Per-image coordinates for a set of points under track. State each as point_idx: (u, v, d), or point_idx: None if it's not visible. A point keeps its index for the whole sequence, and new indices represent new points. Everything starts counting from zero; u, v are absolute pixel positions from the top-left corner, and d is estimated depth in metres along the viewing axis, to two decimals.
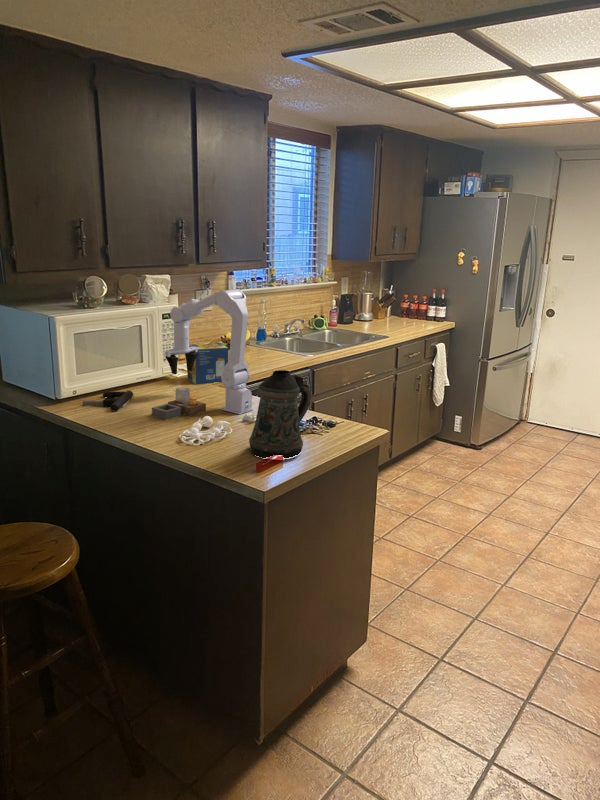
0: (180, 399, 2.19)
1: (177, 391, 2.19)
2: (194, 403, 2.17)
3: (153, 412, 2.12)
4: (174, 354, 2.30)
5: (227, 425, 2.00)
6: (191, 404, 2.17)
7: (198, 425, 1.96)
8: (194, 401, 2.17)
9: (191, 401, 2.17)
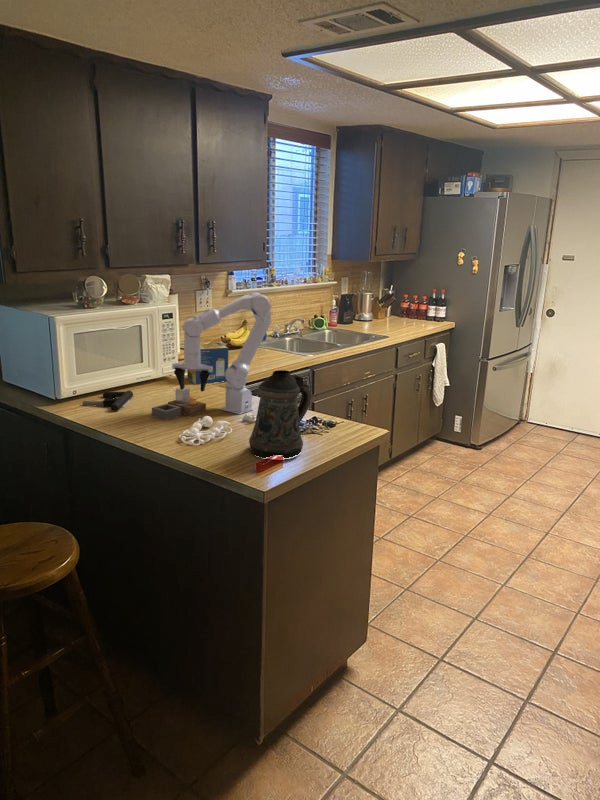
0: (180, 399, 2.19)
1: (177, 391, 2.19)
2: (194, 403, 2.17)
3: (153, 412, 2.12)
4: (182, 368, 2.15)
5: (227, 425, 2.00)
6: (191, 404, 2.17)
7: (198, 425, 1.96)
8: (194, 401, 2.17)
9: (191, 401, 2.17)
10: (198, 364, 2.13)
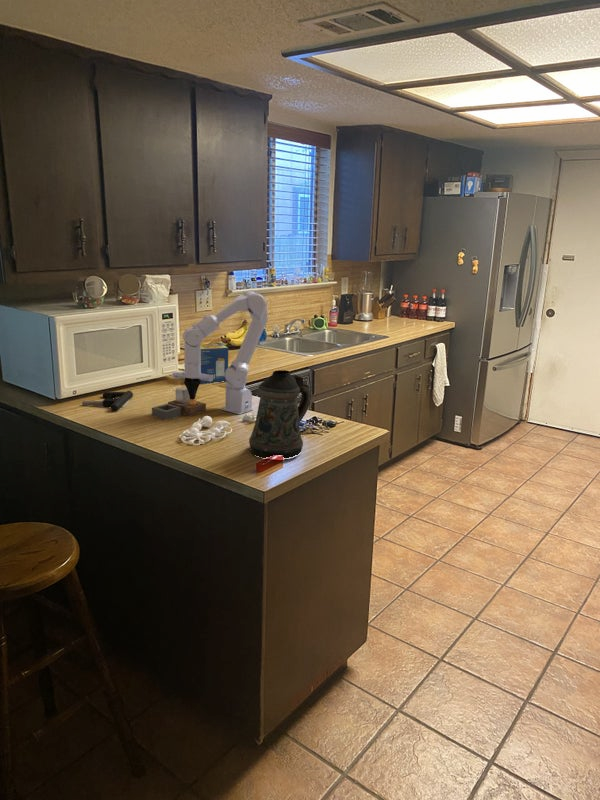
0: (180, 399, 2.19)
1: (177, 391, 2.19)
2: (194, 404, 2.17)
3: (153, 412, 2.12)
4: (182, 377, 2.16)
5: (227, 425, 2.00)
6: (191, 405, 2.17)
7: (198, 425, 1.96)
8: (194, 402, 2.17)
9: (191, 402, 2.17)
10: (198, 373, 2.14)
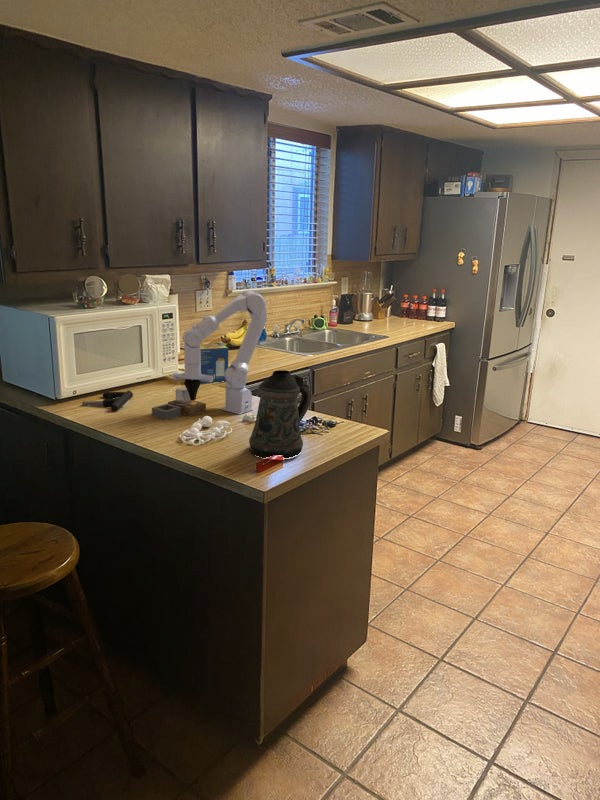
0: (180, 399, 2.19)
1: (177, 391, 2.19)
2: None
3: (153, 412, 2.12)
4: (182, 378, 2.16)
5: (227, 425, 2.00)
6: None
7: (198, 425, 1.96)
8: None
9: None
10: (198, 374, 2.14)
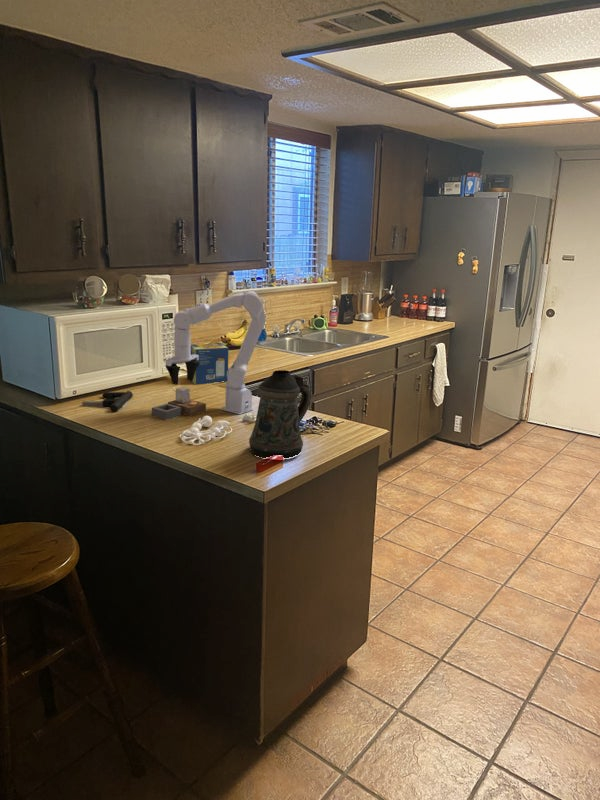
0: (180, 399, 2.19)
1: (177, 391, 2.19)
2: None
3: (153, 412, 2.12)
4: (175, 363, 2.13)
5: (227, 425, 2.01)
6: None
7: (198, 425, 1.96)
8: None
9: None
10: None
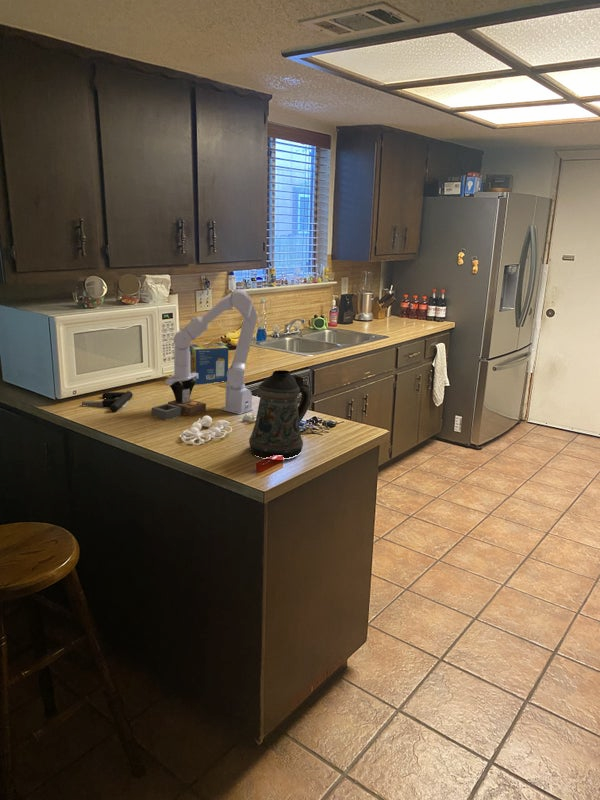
0: None
1: None
2: None
3: (153, 412, 2.12)
4: (175, 382, 2.16)
5: (227, 424, 2.01)
6: None
7: (198, 425, 1.96)
8: None
9: None
10: None
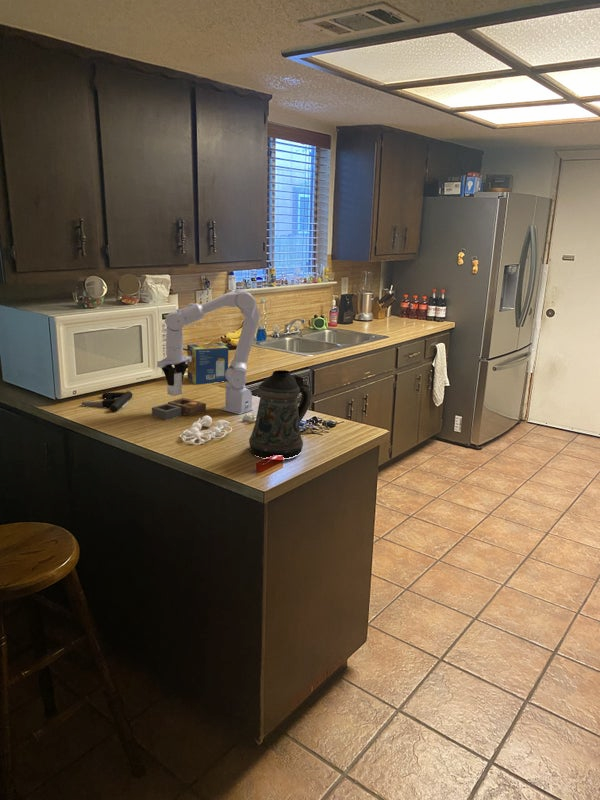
0: None
1: None
2: None
3: (153, 412, 2.12)
4: None
5: (227, 424, 2.01)
6: None
7: (198, 425, 1.96)
8: None
9: None
10: None
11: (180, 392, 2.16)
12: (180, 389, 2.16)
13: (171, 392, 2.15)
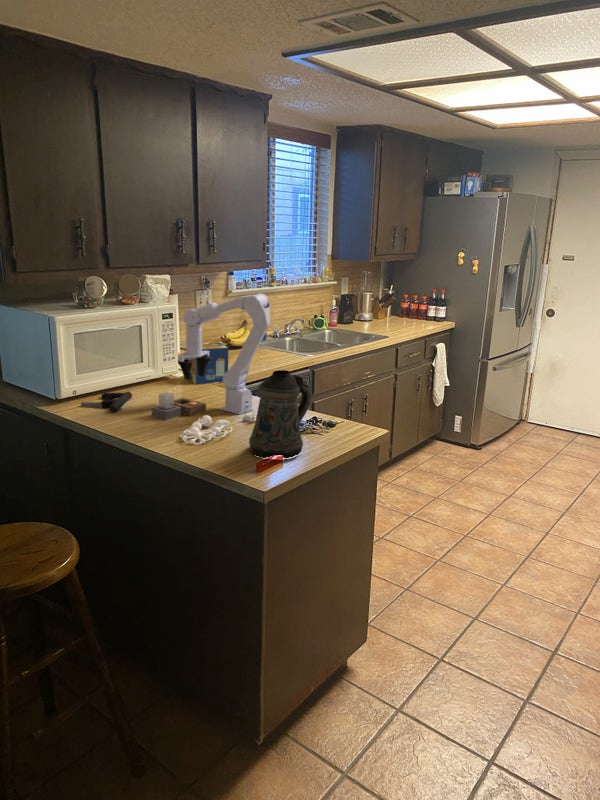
0: (164, 405, 2.11)
1: (160, 396, 2.11)
2: None
3: (153, 412, 2.12)
4: (187, 359, 2.21)
5: (227, 424, 2.01)
6: None
7: (198, 424, 1.97)
8: None
9: None
10: None
11: None
12: None
13: None
